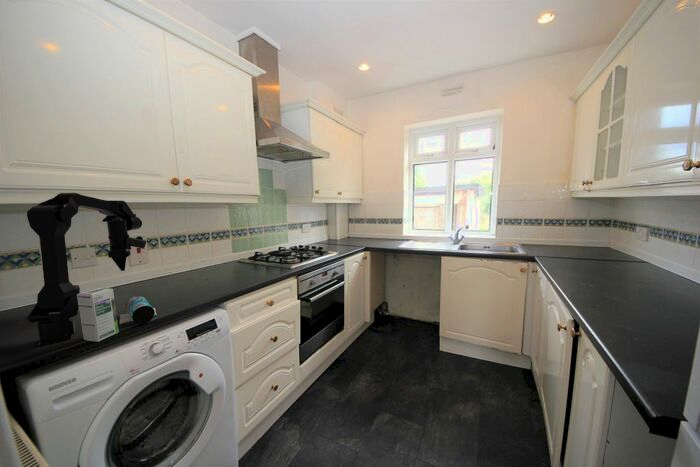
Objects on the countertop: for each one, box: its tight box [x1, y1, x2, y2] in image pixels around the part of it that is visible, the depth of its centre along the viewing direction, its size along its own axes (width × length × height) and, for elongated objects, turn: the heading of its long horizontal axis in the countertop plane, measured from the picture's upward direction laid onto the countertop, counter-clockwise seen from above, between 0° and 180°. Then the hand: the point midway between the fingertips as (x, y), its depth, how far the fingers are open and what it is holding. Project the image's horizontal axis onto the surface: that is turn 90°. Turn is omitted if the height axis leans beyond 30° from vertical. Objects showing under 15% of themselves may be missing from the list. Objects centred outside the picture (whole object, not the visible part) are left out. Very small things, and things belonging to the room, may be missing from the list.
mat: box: [119, 307, 158, 325], centre depth 93 cm, size 10×8×1 cm
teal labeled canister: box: [125, 295, 155, 325], centre depth 91 cm, size 6×6×15 cm
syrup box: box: [77, 287, 120, 343], centre depth 78 cm, size 6×6×14 cm
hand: (123, 270), depth 104 cm, fingers closed
